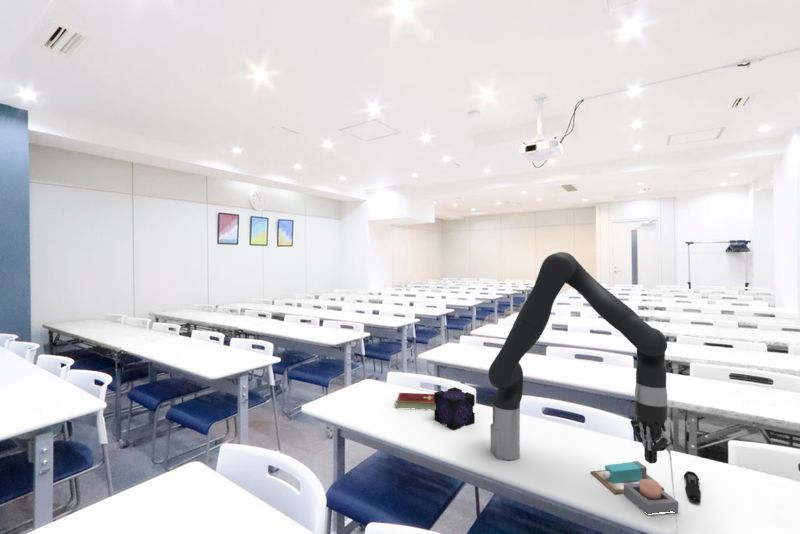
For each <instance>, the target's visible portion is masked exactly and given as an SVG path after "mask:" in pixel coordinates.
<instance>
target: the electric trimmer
mask: <svg viewBox="0 0 800 534" xmlns="http://www.w3.org/2000/svg"><path fill="white" fill-rule="evenodd" d="M683 477H684V479H685V488H684V489H685V492H686V495H687V497H688V499H689V500H690V501H693V502H696V503H700V501H701V494H702V493H701V489H700V484H699V481H700V478H699V476H698V475H697V474H696V473H695V472H694V471H690V470H689V471H687V470H686V471H685V473H684V474H683Z"/></svg>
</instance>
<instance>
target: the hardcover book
mask: <svg viewBox="0 0 800 534" xmlns="http://www.w3.org/2000/svg"><path fill="white" fill-rule="evenodd" d="M396 403H397V407H396V408H415V409H414V410H416V409H433V410H432V411H434V410H436V403H434V393H418V392H417V393H414V392H413V393H412V392H398V395H397V399H396Z"/></svg>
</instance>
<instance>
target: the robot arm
mask: <svg viewBox="0 0 800 534" xmlns="http://www.w3.org/2000/svg"><path fill="white" fill-rule="evenodd" d="M565 284H567V285H568V286H570V287H572V289H574V290H576V291H577V293H579V295H581V296H582V297H583V298H584V299H585V301H587V303H588V305H590V306H591V308H592V309H593V310H594V311H595V312H596V313H597V314H598V315H599V316H600V317H601V318H602V319H603V320H604V321H605V322H607V323H609V325H610V326H612V328H614V329H615V330H616V331H618V332H620V333H621V334H622V336H624V337H625V338H626V339H627V340H628V341H629V342H630V343H631V344H632V346H633V347H635V349H636V360H637V361H636V362H637V363H636V371H635V388H634V413H635V415H636V419H633V420H632V419H631V420H630V424H631V427H632V429H633V432H634V434H635V436H636V438H637V440H638V442H639V443H642V446H643V447H644V448H643V449H644V459H645V462H647V463H649V464H656V463H657V462H658V452H663V451H665V450H666V449H668V447H669V446H671V444H673V442H674V438H673V437H669V436H668V434H667V433H666V431H667V429H666V426H665V423H666V421H667V420H668V391H667V370H666V365H665V360H666V351H667V349H668V341H667V339H666V337H665V335H664V334H663V332H662V331H660V330H659V329H657V328H655V327H652V326H651V325H649V324H648V323H647V322H645V321H644V320H643V319H641V317H640V316H639V315H638V313H637V312H635V311H634V310H633V309H631V308H630V307H629V305H627V304H626V303H624V302H623V301H622V300H620V299H619V298H618V297H617V296H616V295H614V294H613V293H612V292H610V291H609V290H608V289H606V288H605V287H604V286H603V285H602V284H601V283H600V282H598V281H597V280H596V279H595V278H594V277H593V276H592V275H591V274H590V273H589V272H588V271H587V270H586V269H585V267H583V266H582V265H581V264H580V263H579V261H578V260H577V259H576V258H575V257H574V256H573V255H572V254H571V253H568V252H564V251H563V252H562V251H560V252H556V253H552V254H550V255H548V256H547V257H545V259H544V260H543V261H542V263H541V265H540V269H539V272H538V274H537V277H536V279H535V283H534V284H533V287H532V290H531V292H530V293H529V295H528V296H527V298H526V300H525V302H524V303H523V305H522V306H521V308H520V310H519V313H518V314H517V316H516V318H515V321H514V322H513V324H512V326H511V329H510V330H509V333H508V335H507V336H506V339H505V342H504V343H503V345H502V347H501V349H500V351H499V352H498V353H497V355H496V357H495V358H494V360H493V361H492V363H491V364H490V366H489V369H488V381H489V383H490V384H491V385H492V386H493V387H495V388H497V390H496V392H494V394H493V396H492V423H490V451H491V452H492V454H493V455H494V457H495V458H496V459H500V460H506V461H514V460H517V459H519V458H520V454H521V453H520V452H521V450H520V449H521V448H520V446H521V445H520V443H521V439H520V438H521V437H520V436H521V435H520V431H521V428H520V425H521V424H520V423H521V417H520V416H521V412H520V411H521V410H520V409H521V406H520V405H521V401H522V399H523V392H524V391H523V389H524V387H523V386H524V372H523V368H522V365H521V364H520V361H521V359H522V358H523V357H524V355H526V354H527V353H528V352H529V351H530V350H531V348H533V347H534V345H535V344H536V343H537V342H538V341H539V340H540V338H541V336H542V334H543V333H544V330H545V329H546V327H547V325H548V323H549V320H550V317H551V314H552V309H553V305H554V303H555V300H556V298H557V297H558V295H559V293H560V292H561V290H562V288H563V287H564V286H565Z"/></svg>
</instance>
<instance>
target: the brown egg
mask: <svg viewBox="0 0 800 534" xmlns="http://www.w3.org/2000/svg"><path fill="white" fill-rule="evenodd" d="M657 482H658V481H657ZM657 482H655V481H652V480H649V479H641V480H640V486H639V492H640V494H641V495H642V496H644V497H645V498H646V499H647V500H649V501H650V500H660V499H661V486H662V485H661V484H660V483H659V482H658V483H657Z"/></svg>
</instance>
